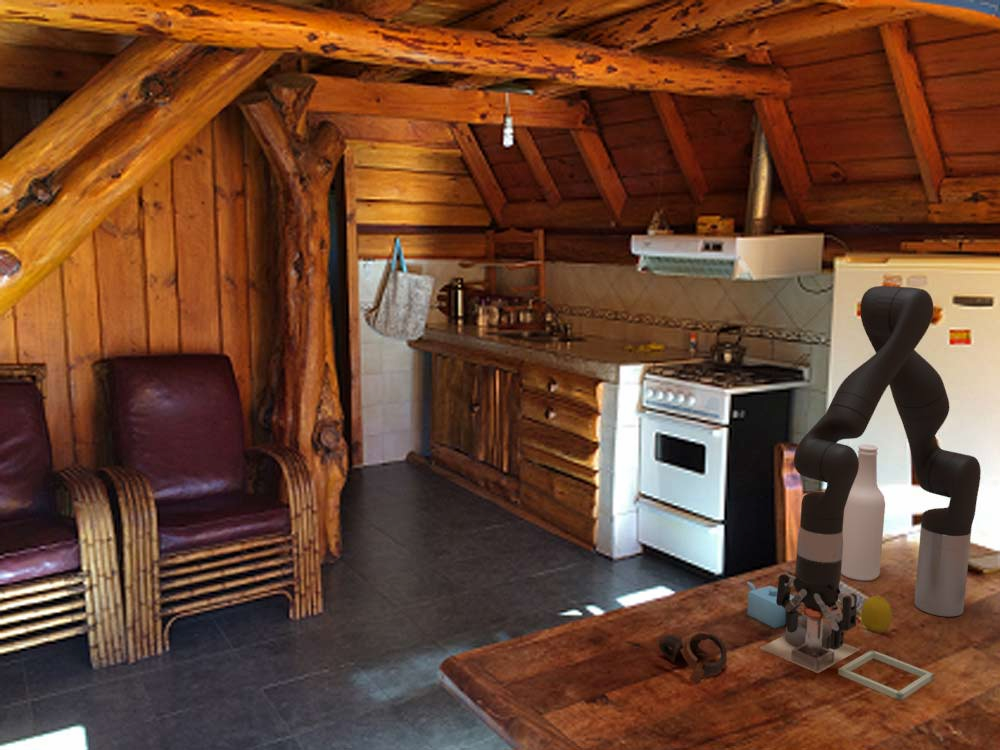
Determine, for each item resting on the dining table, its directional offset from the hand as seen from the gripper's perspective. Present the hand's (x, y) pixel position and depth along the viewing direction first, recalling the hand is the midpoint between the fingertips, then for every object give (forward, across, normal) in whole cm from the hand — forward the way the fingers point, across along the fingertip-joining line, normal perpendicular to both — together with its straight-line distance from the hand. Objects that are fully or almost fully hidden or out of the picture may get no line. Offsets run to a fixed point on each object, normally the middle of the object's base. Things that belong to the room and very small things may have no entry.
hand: (813, 639), depth 159 cm
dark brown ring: (+6, +13, +17) cm, 22 cm away
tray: (+6, -11, -5) cm, 13 cm away
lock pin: (+4, 0, 0) cm, 4 cm away
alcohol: (+6, +18, -48) cm, 52 cm away
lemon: (+6, 0, -22) cm, 23 cm away
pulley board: (+6, +3, -4) cm, 8 cm away
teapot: (+6, +16, -10) cm, 20 cm away
